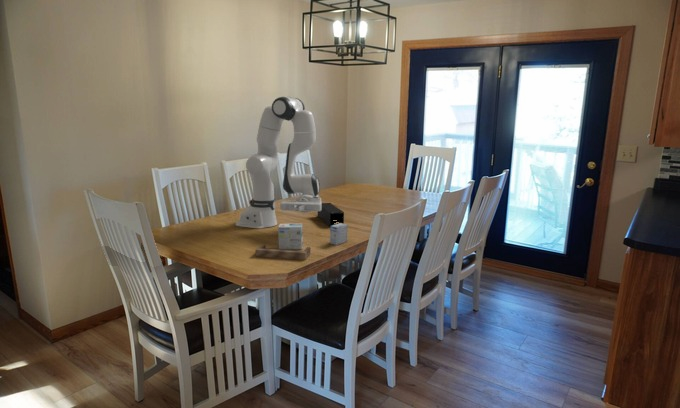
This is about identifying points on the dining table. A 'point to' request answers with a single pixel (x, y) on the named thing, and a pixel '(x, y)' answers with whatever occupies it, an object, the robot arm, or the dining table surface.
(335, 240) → the medicine box
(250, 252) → the dining table surface
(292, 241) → the light bulb box
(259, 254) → the walnut corral
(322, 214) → the long black box
